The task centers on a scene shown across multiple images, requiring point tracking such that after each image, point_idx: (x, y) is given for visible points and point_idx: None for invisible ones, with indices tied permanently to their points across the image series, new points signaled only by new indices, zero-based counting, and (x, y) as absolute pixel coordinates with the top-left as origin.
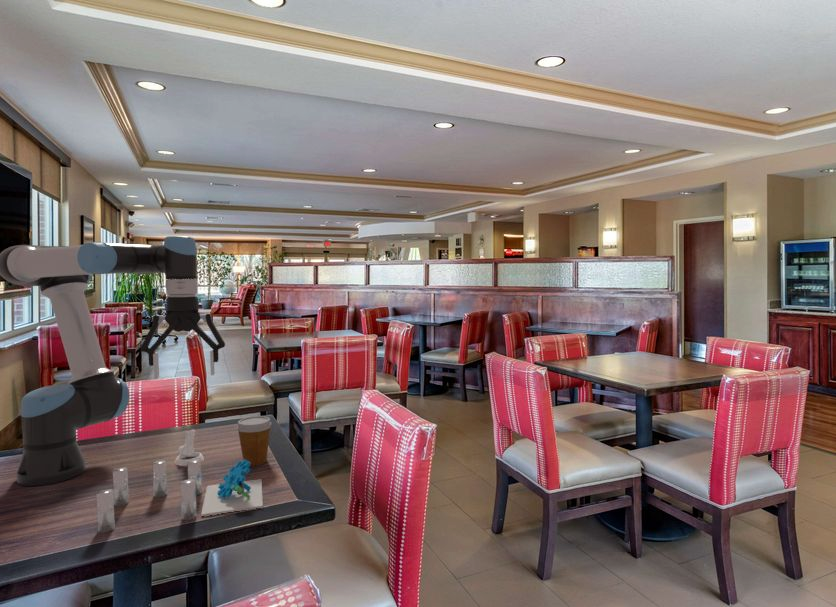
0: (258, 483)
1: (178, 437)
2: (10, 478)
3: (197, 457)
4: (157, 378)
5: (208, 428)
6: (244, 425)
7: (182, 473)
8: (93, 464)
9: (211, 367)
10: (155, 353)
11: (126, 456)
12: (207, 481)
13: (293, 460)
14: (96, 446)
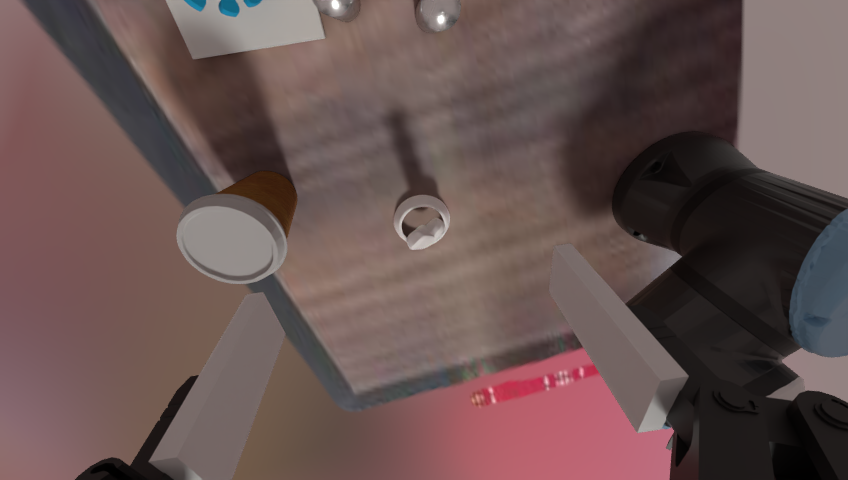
0: (185, 24)
1: (473, 334)
2: None
3: (402, 215)
4: (553, 252)
5: (431, 367)
6: (239, 208)
7: (416, 151)
8: (600, 229)
9: (237, 330)
10: (664, 393)
11: (548, 259)
12: (342, 88)
13: (177, 190)
14: None
